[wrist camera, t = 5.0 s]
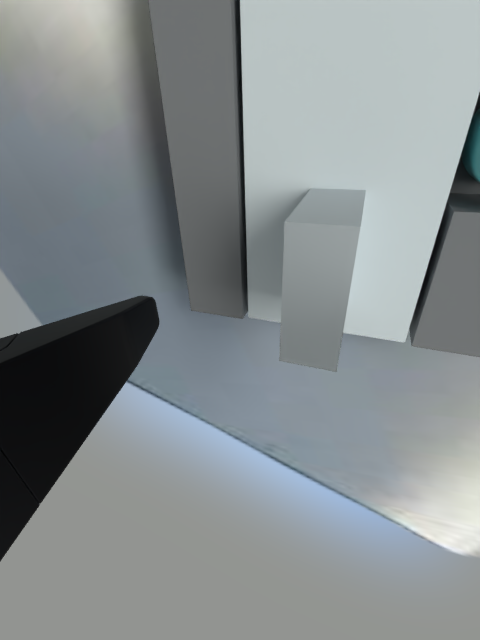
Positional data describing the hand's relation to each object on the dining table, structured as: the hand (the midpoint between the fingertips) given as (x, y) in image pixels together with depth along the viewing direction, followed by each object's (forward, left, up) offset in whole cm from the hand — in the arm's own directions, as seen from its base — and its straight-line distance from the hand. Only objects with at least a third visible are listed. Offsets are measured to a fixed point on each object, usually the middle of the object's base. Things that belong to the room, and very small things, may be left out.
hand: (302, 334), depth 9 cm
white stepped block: (-3, 0, -9) cm, 9 cm away
